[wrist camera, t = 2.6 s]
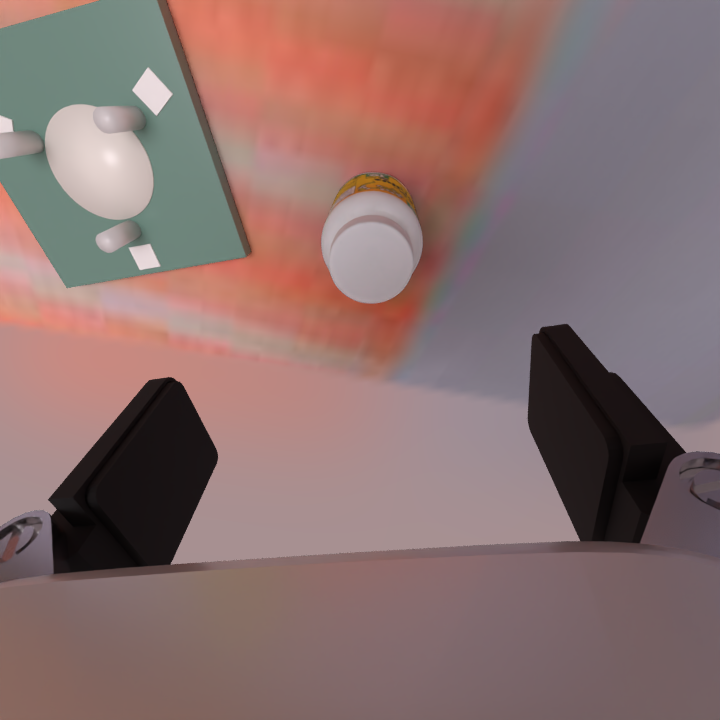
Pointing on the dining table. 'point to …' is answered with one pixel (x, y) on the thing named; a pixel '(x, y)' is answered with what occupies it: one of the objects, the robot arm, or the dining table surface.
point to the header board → (112, 145)
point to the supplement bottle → (372, 238)
